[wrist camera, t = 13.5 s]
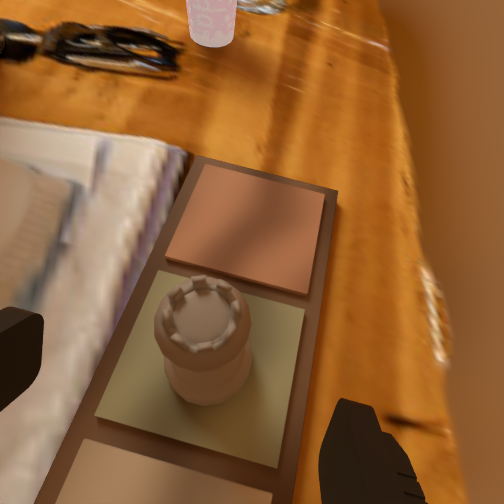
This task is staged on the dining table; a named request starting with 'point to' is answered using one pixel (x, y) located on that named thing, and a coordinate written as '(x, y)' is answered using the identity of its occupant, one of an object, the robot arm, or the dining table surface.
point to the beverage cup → (211, 21)
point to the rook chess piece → (204, 339)
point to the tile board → (261, 341)
